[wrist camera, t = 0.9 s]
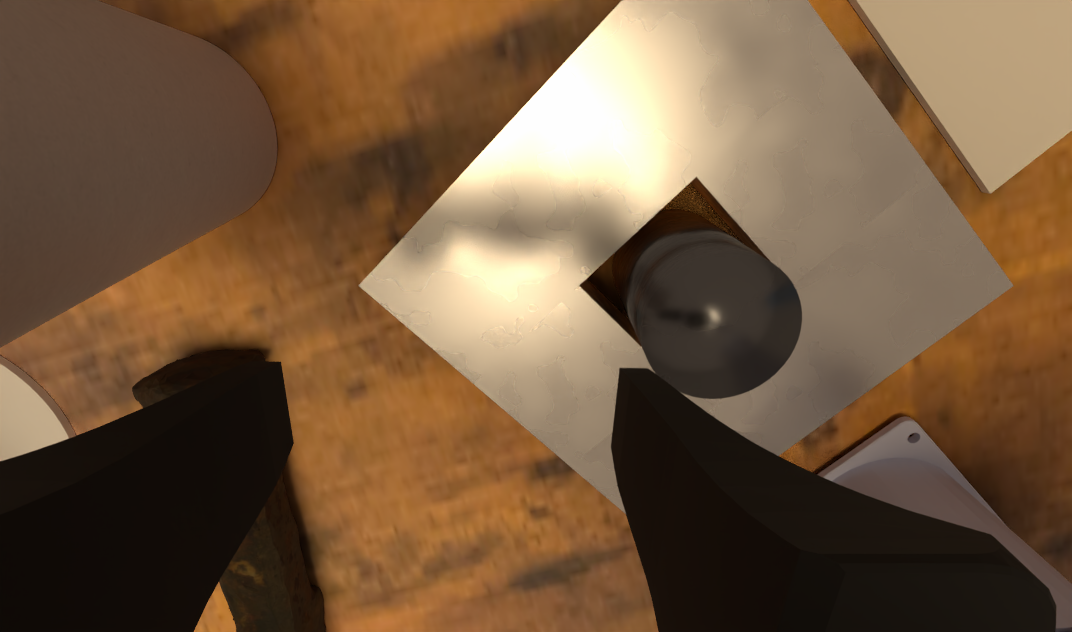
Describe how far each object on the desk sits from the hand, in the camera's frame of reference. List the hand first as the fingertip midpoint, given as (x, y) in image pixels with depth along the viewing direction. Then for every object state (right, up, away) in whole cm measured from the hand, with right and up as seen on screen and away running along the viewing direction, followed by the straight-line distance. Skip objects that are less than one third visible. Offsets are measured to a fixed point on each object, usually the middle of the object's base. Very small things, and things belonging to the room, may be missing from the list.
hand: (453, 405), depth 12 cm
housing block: (+7, +4, +9) cm, 12 cm away
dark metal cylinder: (+7, +4, +9) cm, 12 cm away
